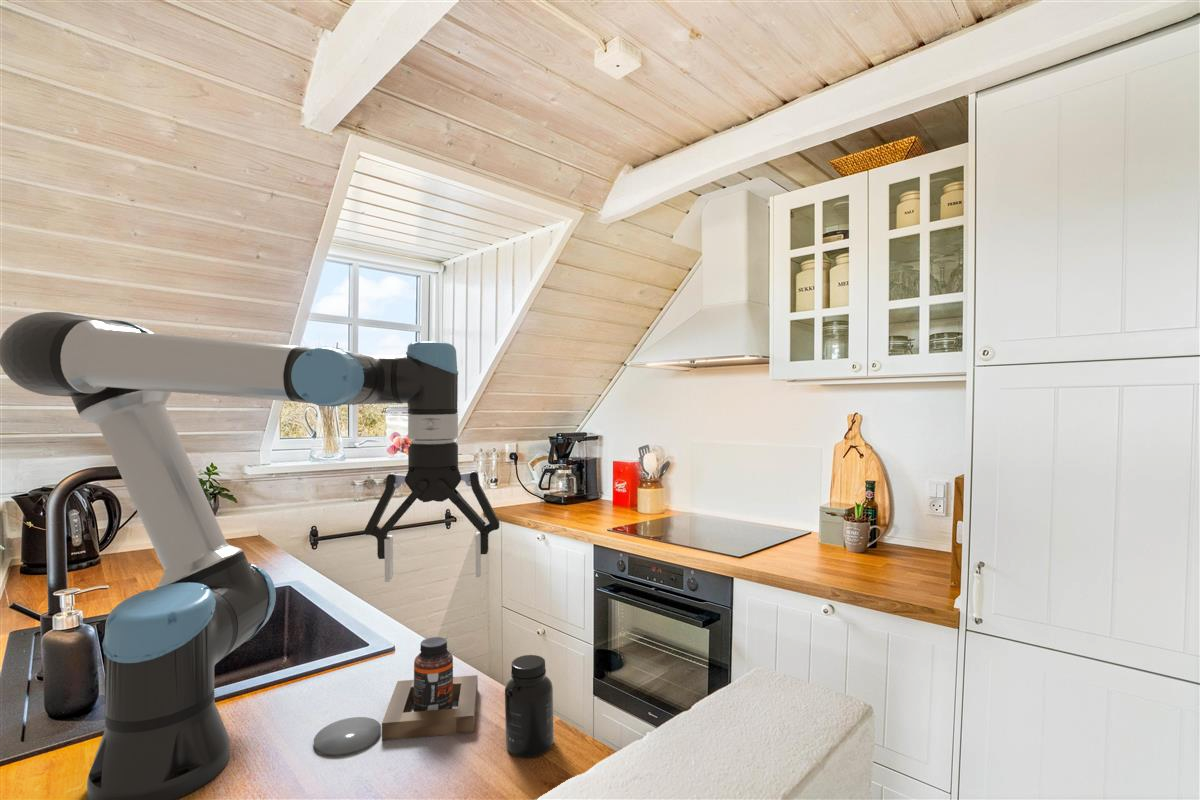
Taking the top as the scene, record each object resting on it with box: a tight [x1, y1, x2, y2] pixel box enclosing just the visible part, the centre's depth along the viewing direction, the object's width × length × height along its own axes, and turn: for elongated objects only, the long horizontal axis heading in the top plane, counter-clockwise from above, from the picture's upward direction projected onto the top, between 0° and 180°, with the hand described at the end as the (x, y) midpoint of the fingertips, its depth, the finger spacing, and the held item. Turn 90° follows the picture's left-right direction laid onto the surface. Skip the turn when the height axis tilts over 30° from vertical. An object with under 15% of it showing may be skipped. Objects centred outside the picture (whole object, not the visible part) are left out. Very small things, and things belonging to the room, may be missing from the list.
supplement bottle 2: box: [504, 654, 555, 759], centre depth 86 cm, size 7×7×12 cm
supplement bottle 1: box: [413, 636, 454, 712], centre depth 94 cm, size 6×6×11 cm
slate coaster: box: [313, 716, 382, 757], centre depth 88 cm, size 9×9×1 cm
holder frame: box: [381, 674, 479, 741], centre depth 94 cm, size 13×13×2 cm
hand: (434, 577), depth 94 cm, fingers open, 13 cm apart
